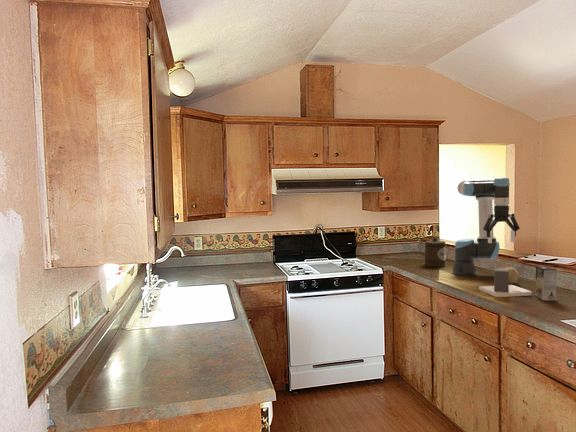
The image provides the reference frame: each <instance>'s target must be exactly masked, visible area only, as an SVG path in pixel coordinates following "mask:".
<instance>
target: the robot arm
mask: <svg viewBox="0 0 576 432" xmlns="http://www.w3.org/2000/svg"><path fill="white" fill-rule="evenodd" d="M457 191H458V193H459V194H460V195H462V196H466V197H475V200H476V201H477V203H478V208H477V209H478V234H479V235H478V237H477V238H476V241H475V239H473V238H463V239H459V240H456V241H455V246H454V248H455V251H454V254H455V256H454V257H455V258H454V259H455V260H454V265H453V267H452V274H453V275H457V276H467V277H468V276H476V275H477V273H478V271H477V267H476V265H475V259H478V260H480V259H482V260H483V259H484V260H485V259H486V260H491V259H493V260H494V259H497V258H498V255H499V253H500V241H498V240H497V238H496V237H495V236H494V228H495V227H496V225H497V224H498V223H499V222H503V223H506V224H507V226H508V227H509V228H510V229H511V230H510V242H511V243H516V236H517V232H518V230H520V229H521V228H520V226H519V223H518V222H517V219H516V218H515V217H516V216H515V213H513V212H510V179H509V177H495V178H494V179H493V178H476V179H473V178H472V179H465V180H462V181H461V182H459V183H458V186H457ZM493 205H494V206H493ZM509 212H510V213H509ZM493 213H494V214H493Z"/></svg>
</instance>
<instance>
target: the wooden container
mask: <svg viewBox="0 0 576 432" xmlns="http://www.w3.org/2000/svg"><path fill="white" fill-rule="evenodd" d="M424 246H425V247H424V266H426V265H427V267H431V266H436V267H435V268H442V266H443V267H446V241H445V240H438V237H437V236H433V237H432V240H426V241H425V242H424Z"/></svg>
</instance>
